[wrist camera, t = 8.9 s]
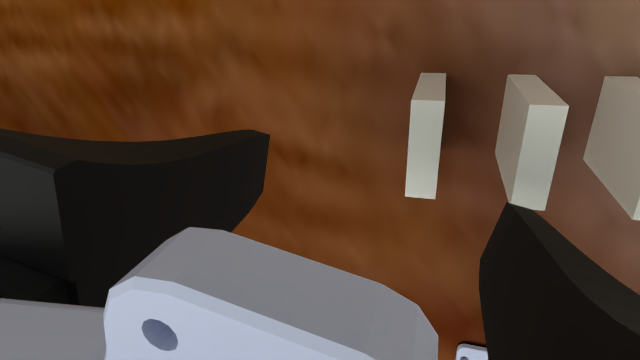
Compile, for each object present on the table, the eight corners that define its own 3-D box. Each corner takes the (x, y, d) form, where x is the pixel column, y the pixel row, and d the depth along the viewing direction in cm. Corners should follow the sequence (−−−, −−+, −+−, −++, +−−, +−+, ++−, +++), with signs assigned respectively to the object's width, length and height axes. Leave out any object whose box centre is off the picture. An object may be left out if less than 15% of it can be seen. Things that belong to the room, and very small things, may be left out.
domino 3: (611, 161, 19) (672, 223, 14) (582, 159, 19) (632, 219, 14) (636, 76, 17) (716, 111, 12) (604, 76, 18) (669, 109, 12)
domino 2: (520, 155, 20) (544, 210, 15) (494, 153, 20) (510, 207, 15) (535, 74, 18) (569, 105, 13) (507, 74, 19) (529, 104, 14)
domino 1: (438, 149, 21) (435, 199, 16) (415, 148, 22) (404, 196, 16) (446, 73, 20) (445, 101, 14) (421, 72, 20) (411, 99, 15)
